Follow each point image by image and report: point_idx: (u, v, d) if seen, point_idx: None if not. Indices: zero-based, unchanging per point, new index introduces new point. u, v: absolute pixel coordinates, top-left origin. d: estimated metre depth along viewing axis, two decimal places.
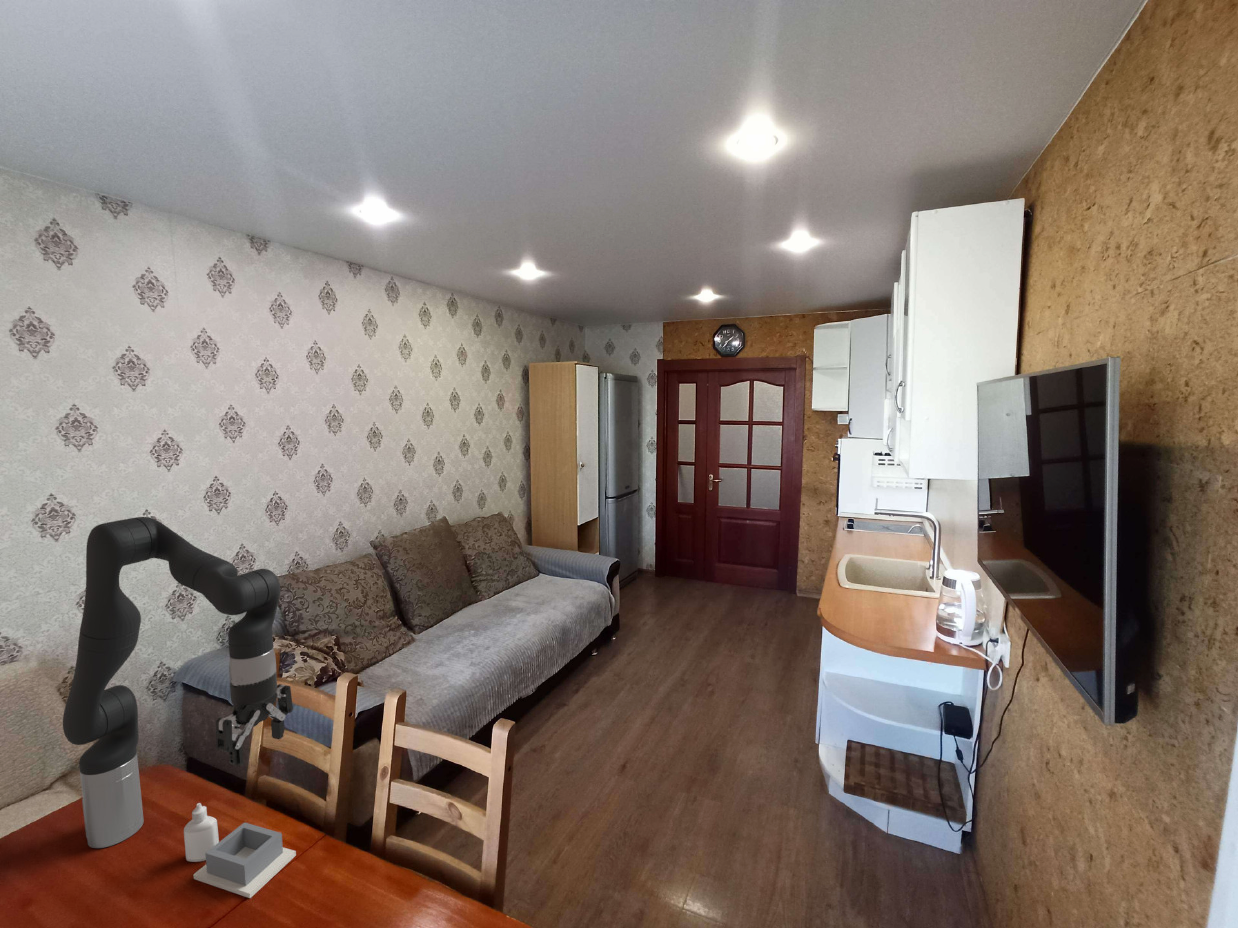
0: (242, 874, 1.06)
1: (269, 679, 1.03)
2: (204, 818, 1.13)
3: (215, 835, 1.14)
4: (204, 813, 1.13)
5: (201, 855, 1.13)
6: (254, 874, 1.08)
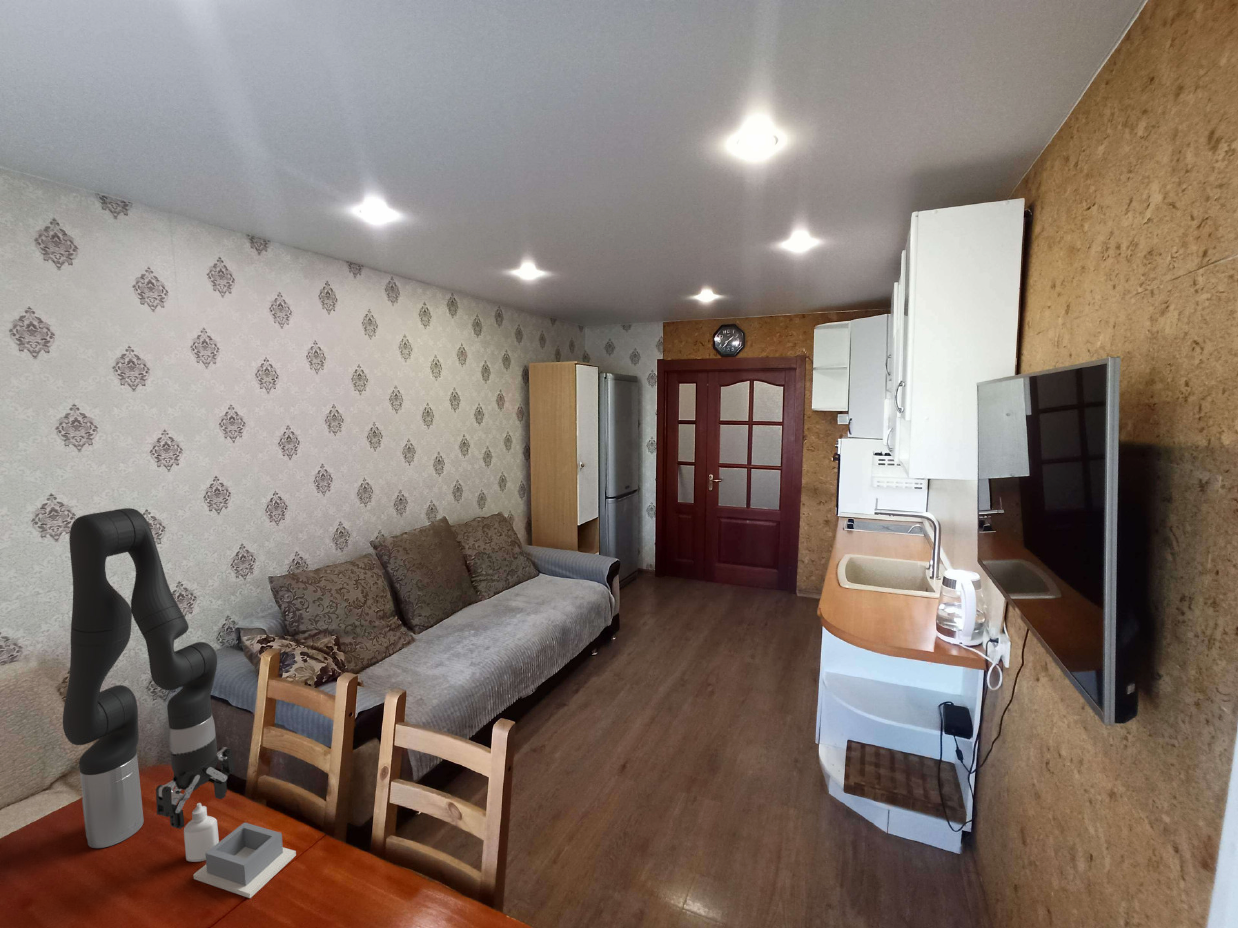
0: (242, 874, 1.06)
1: (207, 745, 1.11)
2: (204, 818, 1.13)
3: (216, 835, 1.14)
4: (204, 813, 1.13)
5: (201, 855, 1.13)
6: (254, 874, 1.08)
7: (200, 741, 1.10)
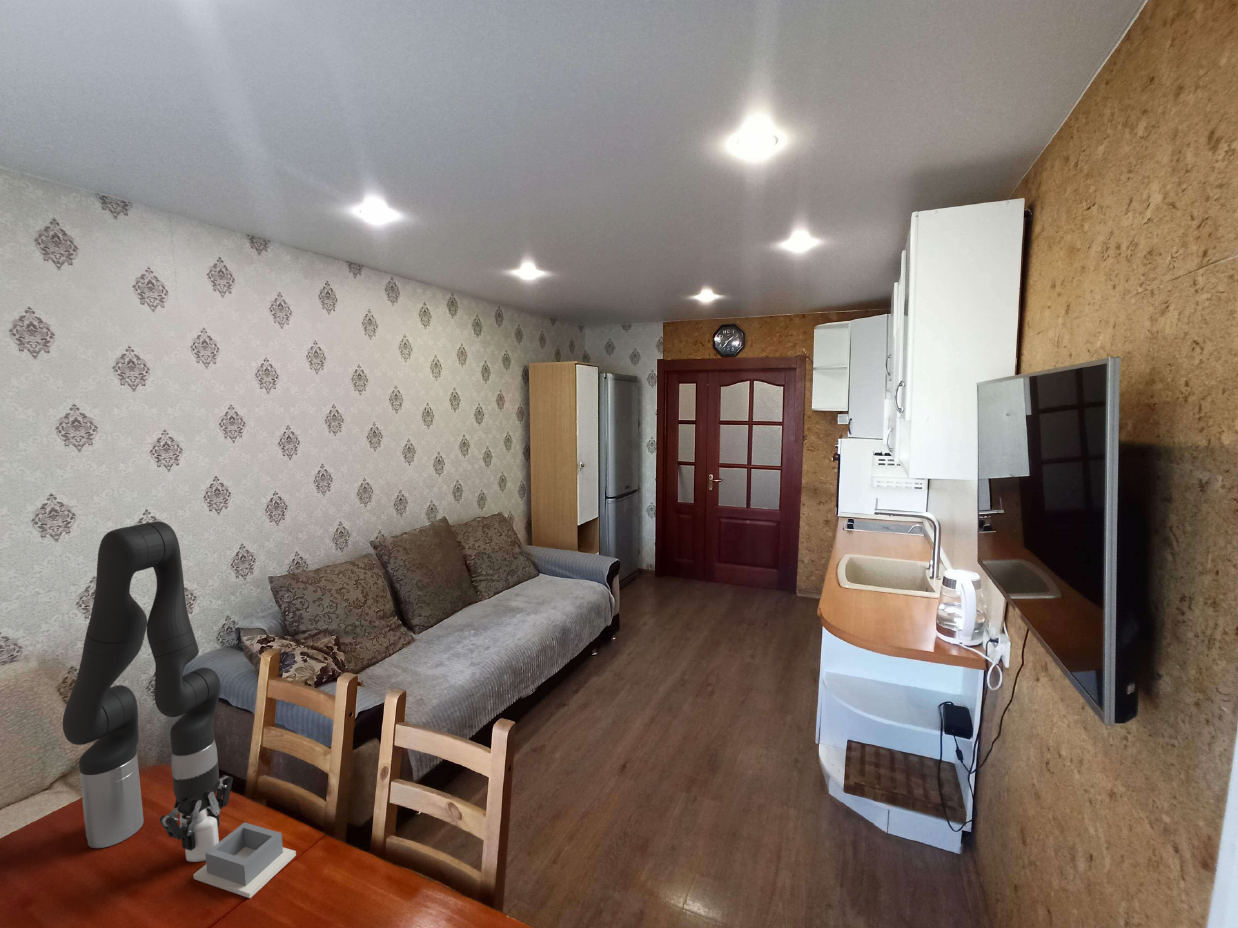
0: (242, 874, 1.06)
1: (210, 771, 1.11)
2: (204, 818, 1.13)
3: (216, 835, 1.14)
4: (204, 813, 1.13)
5: (201, 855, 1.13)
6: (254, 874, 1.08)
7: (202, 767, 1.10)
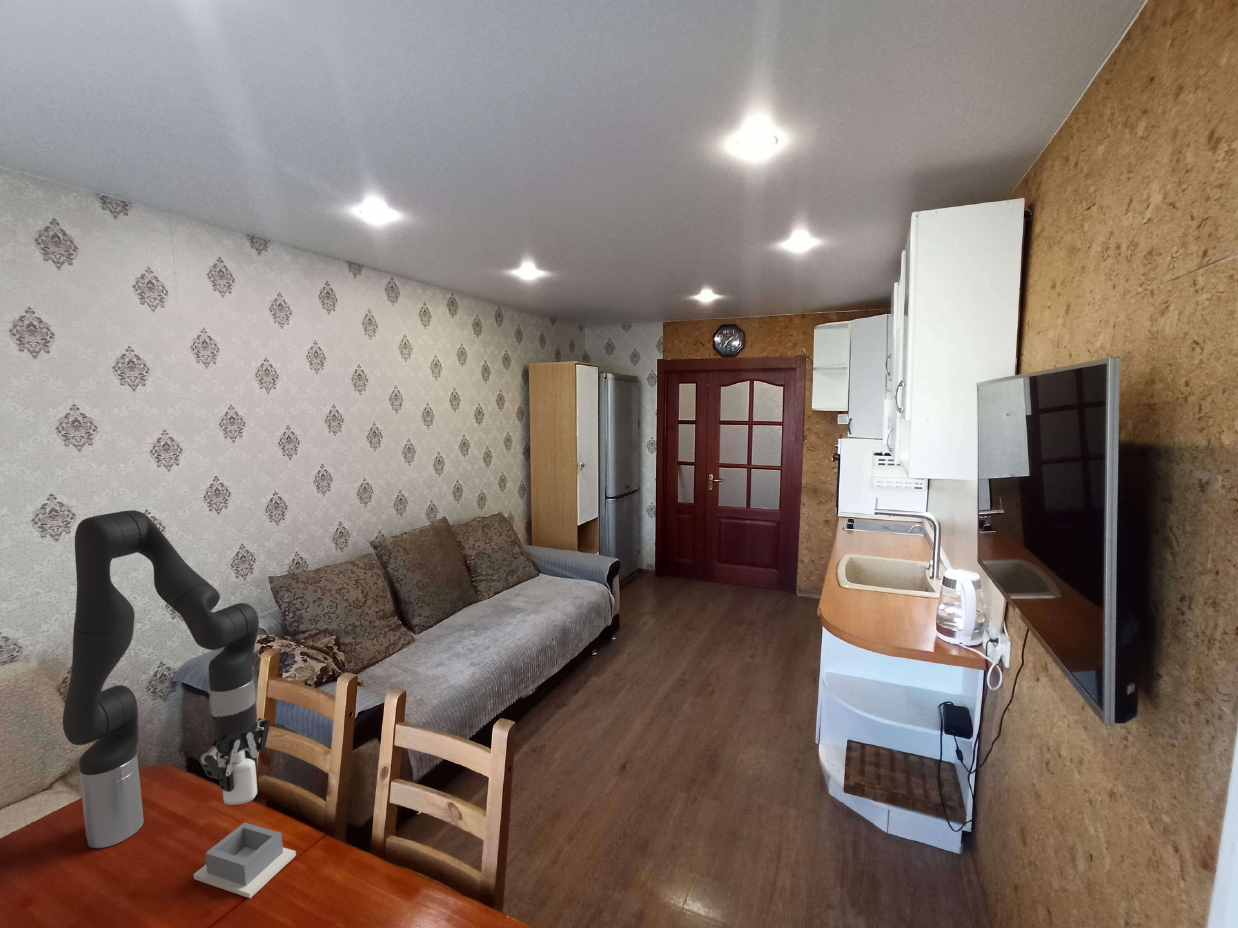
0: (242, 874, 1.06)
1: (248, 709, 1.07)
2: (242, 759, 1.09)
3: (254, 778, 1.10)
4: (242, 754, 1.09)
5: (239, 797, 1.08)
6: (254, 874, 1.08)
7: (241, 704, 1.06)
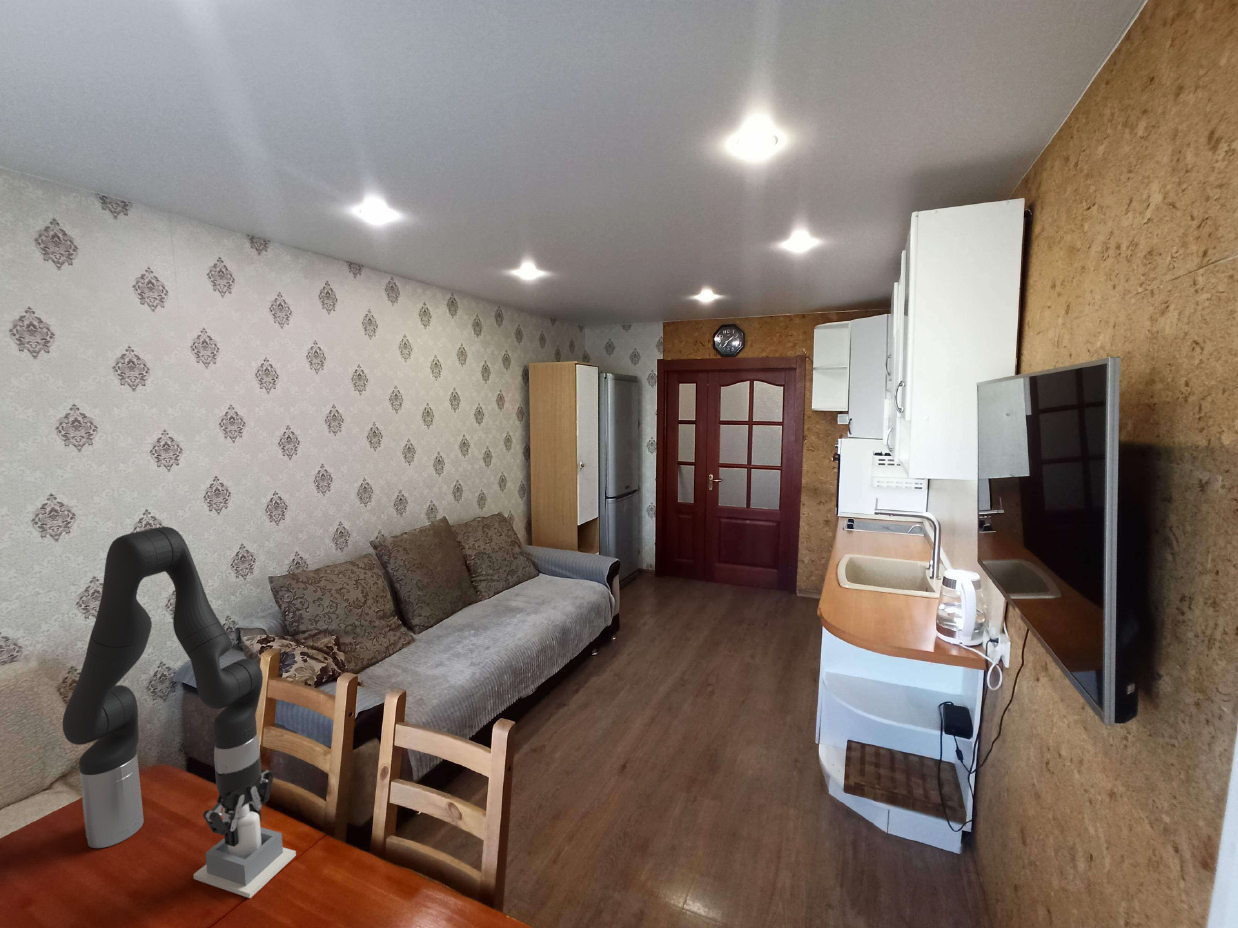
0: (242, 874, 1.06)
1: (253, 764, 1.08)
2: (247, 813, 1.10)
3: (258, 831, 1.11)
4: (246, 808, 1.10)
5: (244, 851, 1.10)
6: (254, 874, 1.08)
7: (246, 760, 1.07)
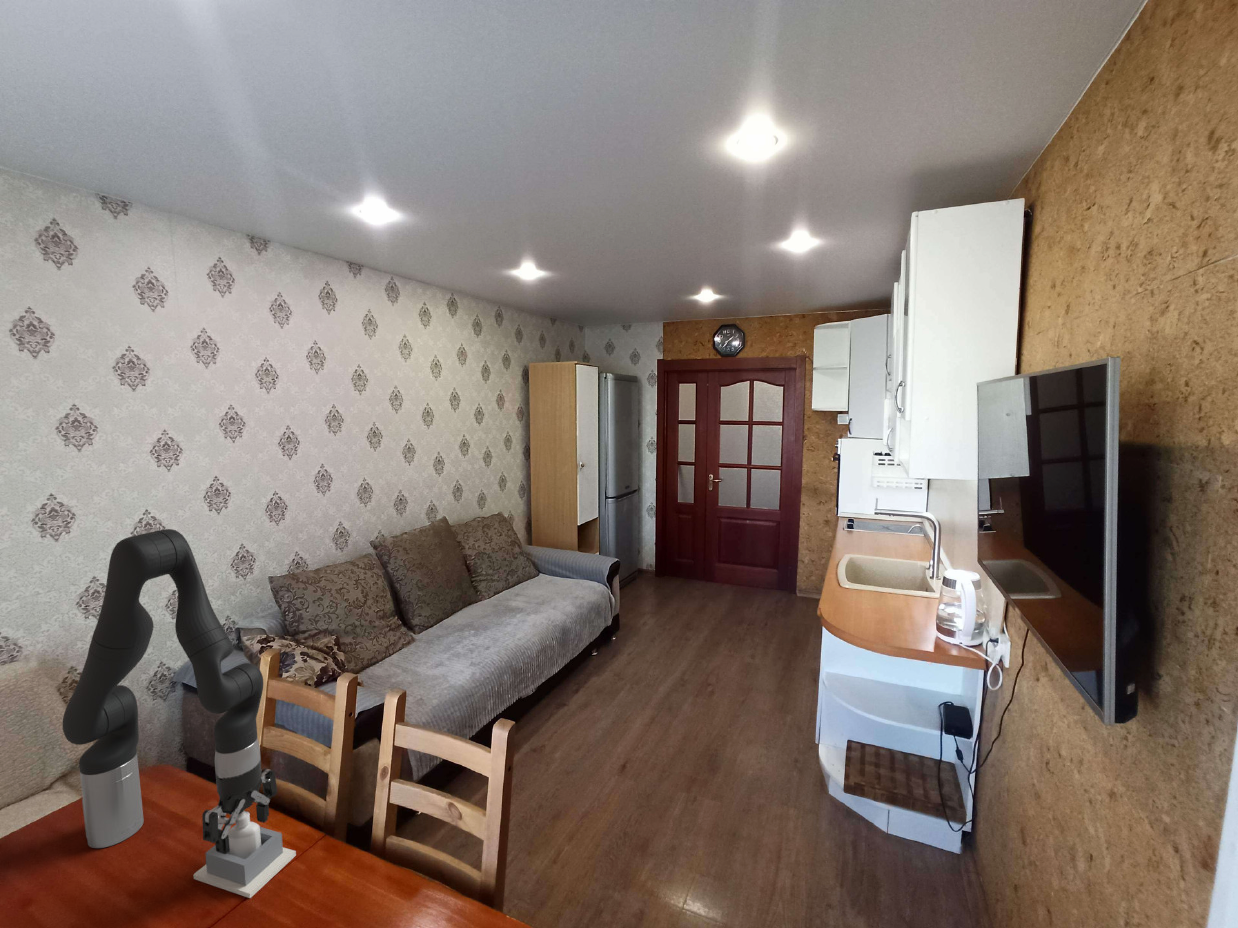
0: (242, 874, 1.06)
1: (253, 769, 1.09)
2: (247, 824, 1.11)
3: (258, 842, 1.12)
4: (247, 819, 1.10)
5: None
6: (254, 874, 1.08)
7: (246, 765, 1.07)
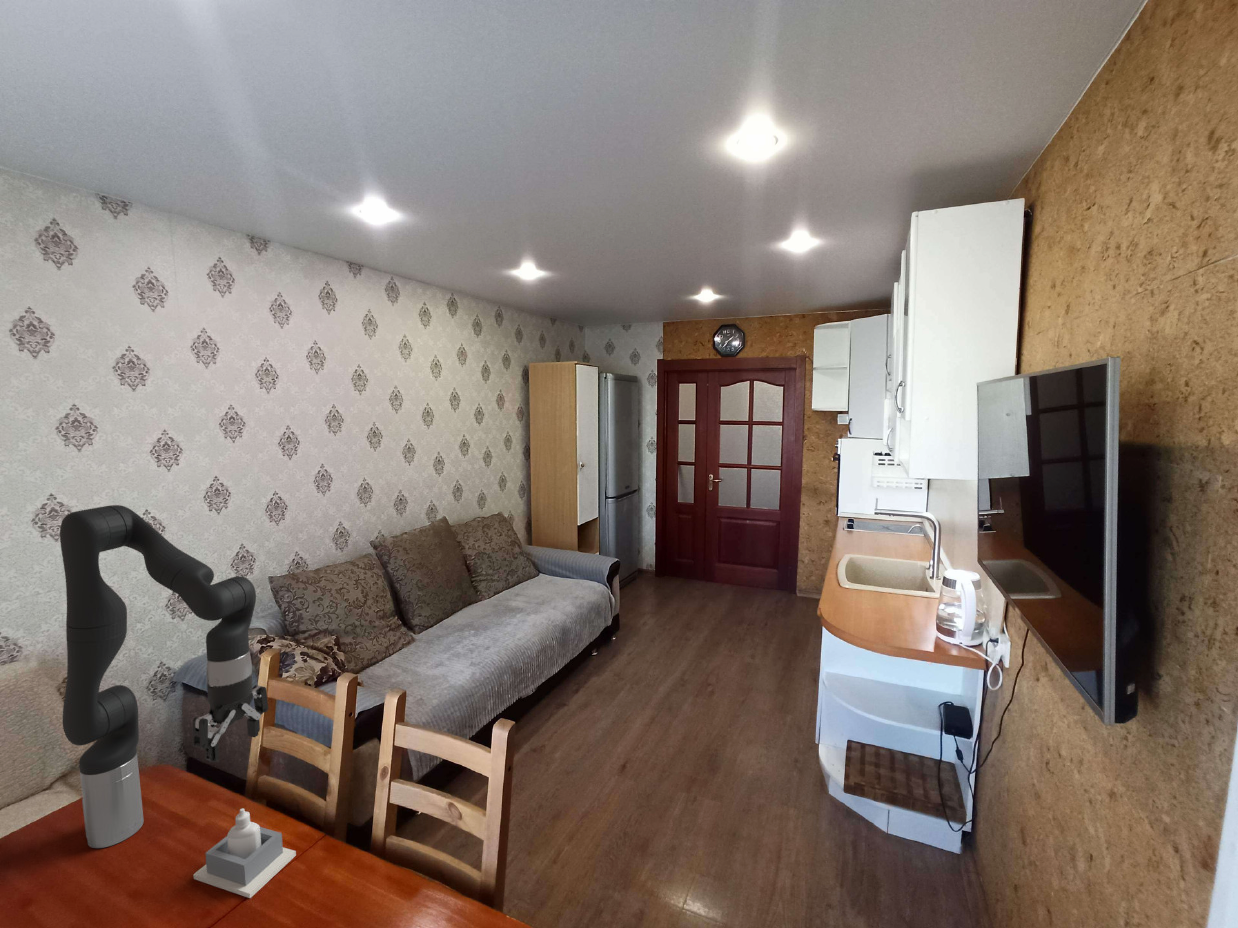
0: (242, 874, 1.06)
1: (244, 680, 1.09)
2: (247, 824, 1.10)
3: (258, 842, 1.12)
4: (247, 819, 1.10)
5: None
6: (254, 874, 1.08)
7: (238, 675, 1.08)
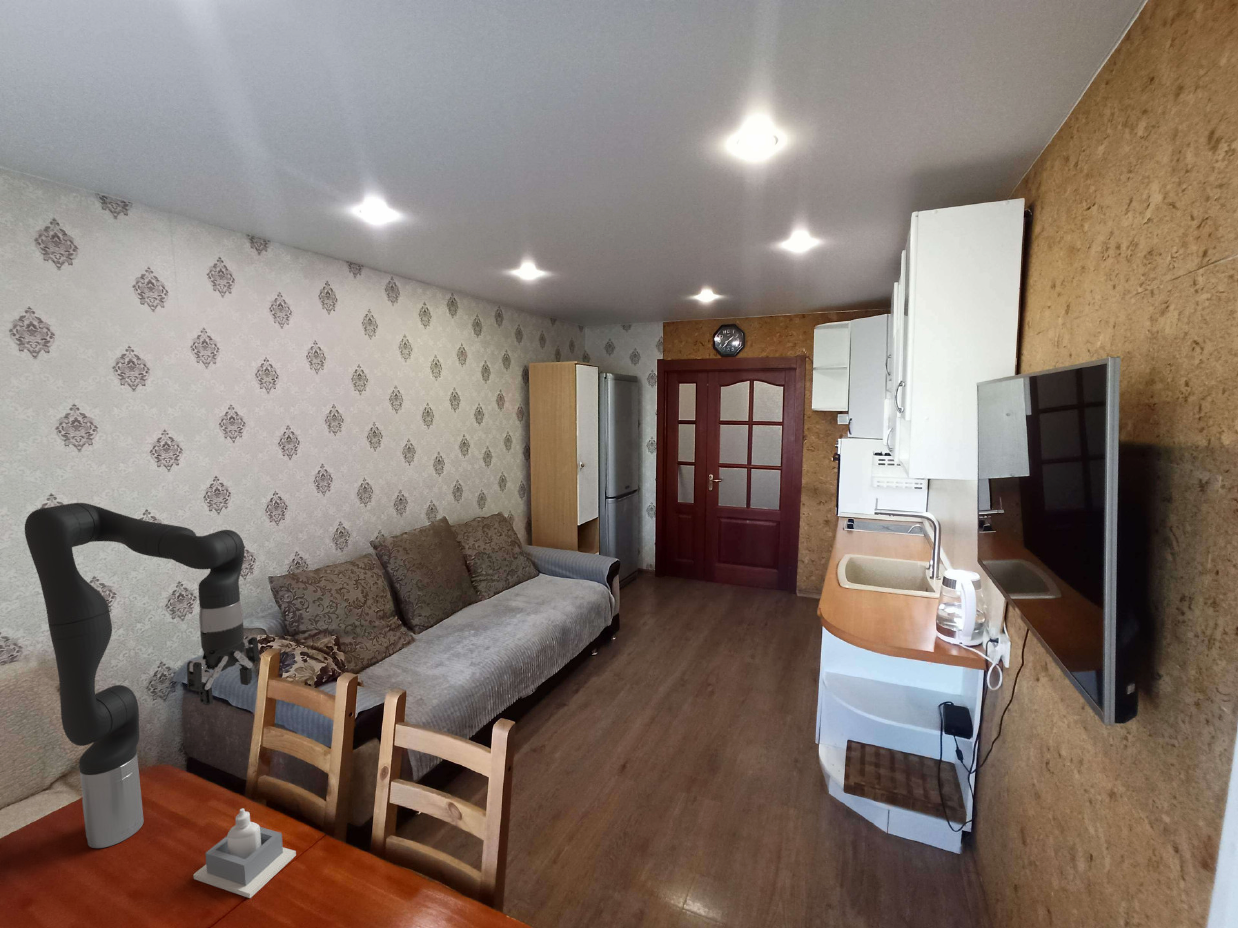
0: (242, 874, 1.06)
1: (236, 628, 1.15)
2: (247, 824, 1.11)
3: (258, 842, 1.12)
4: (247, 819, 1.10)
5: None
6: (254, 874, 1.08)
7: (229, 622, 1.13)
